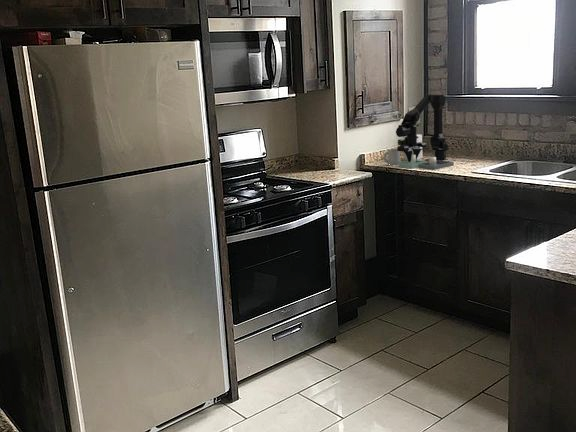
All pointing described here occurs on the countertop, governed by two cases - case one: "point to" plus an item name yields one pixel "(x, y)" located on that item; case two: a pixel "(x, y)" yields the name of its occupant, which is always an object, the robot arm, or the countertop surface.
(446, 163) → the grey tray
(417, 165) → the green bin
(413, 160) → the near stone
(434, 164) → the far stone
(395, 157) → the cup
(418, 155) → the supplement box
